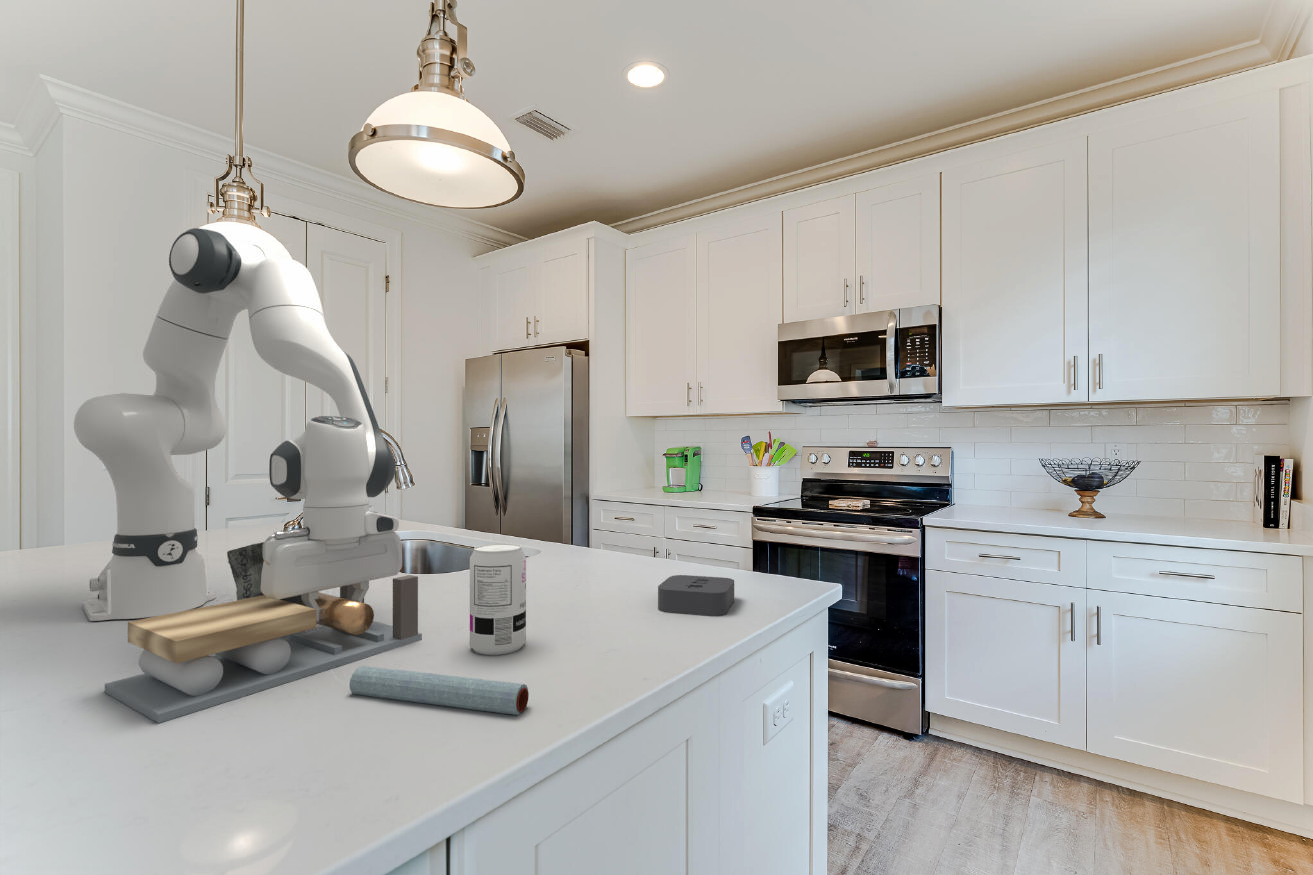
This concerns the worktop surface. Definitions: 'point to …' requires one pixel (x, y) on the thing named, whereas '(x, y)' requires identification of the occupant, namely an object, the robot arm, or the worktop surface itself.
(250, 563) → the stone block
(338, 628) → the copper roller
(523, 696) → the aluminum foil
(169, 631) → the oak slab
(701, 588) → the streaming box
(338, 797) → the worktop surface
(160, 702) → the roller bed
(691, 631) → the worktop surface
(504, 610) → the supplement can
